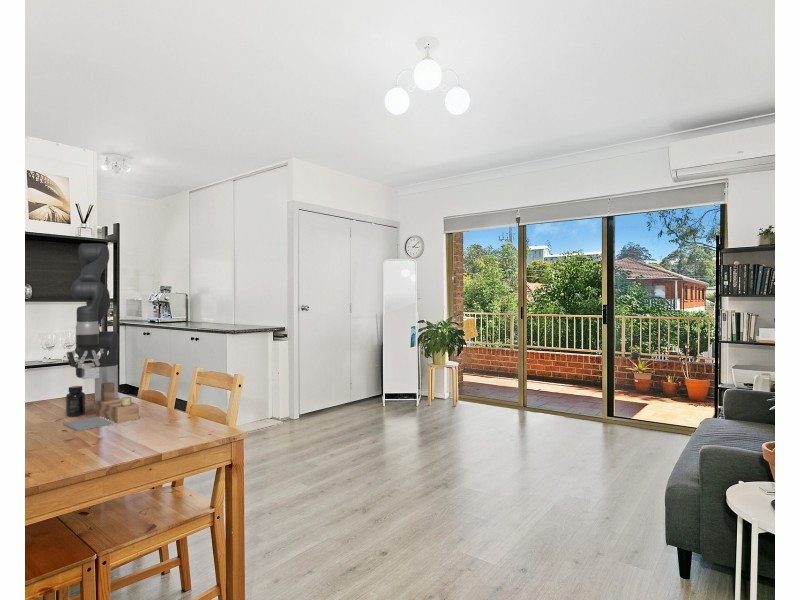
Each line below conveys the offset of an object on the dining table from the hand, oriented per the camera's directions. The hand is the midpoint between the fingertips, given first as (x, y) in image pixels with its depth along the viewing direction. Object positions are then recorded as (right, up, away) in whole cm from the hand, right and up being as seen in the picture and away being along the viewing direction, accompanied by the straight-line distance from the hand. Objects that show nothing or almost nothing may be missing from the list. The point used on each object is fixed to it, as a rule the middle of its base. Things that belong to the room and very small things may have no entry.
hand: (87, 376), depth 186 cm
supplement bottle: (-14, -19, +15) cm, 28 cm away
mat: (0, -19, 0) cm, 19 cm away
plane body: (+5, -19, +12) cm, 23 cm away
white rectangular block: (0, 0, 0) cm, 0 cm away
